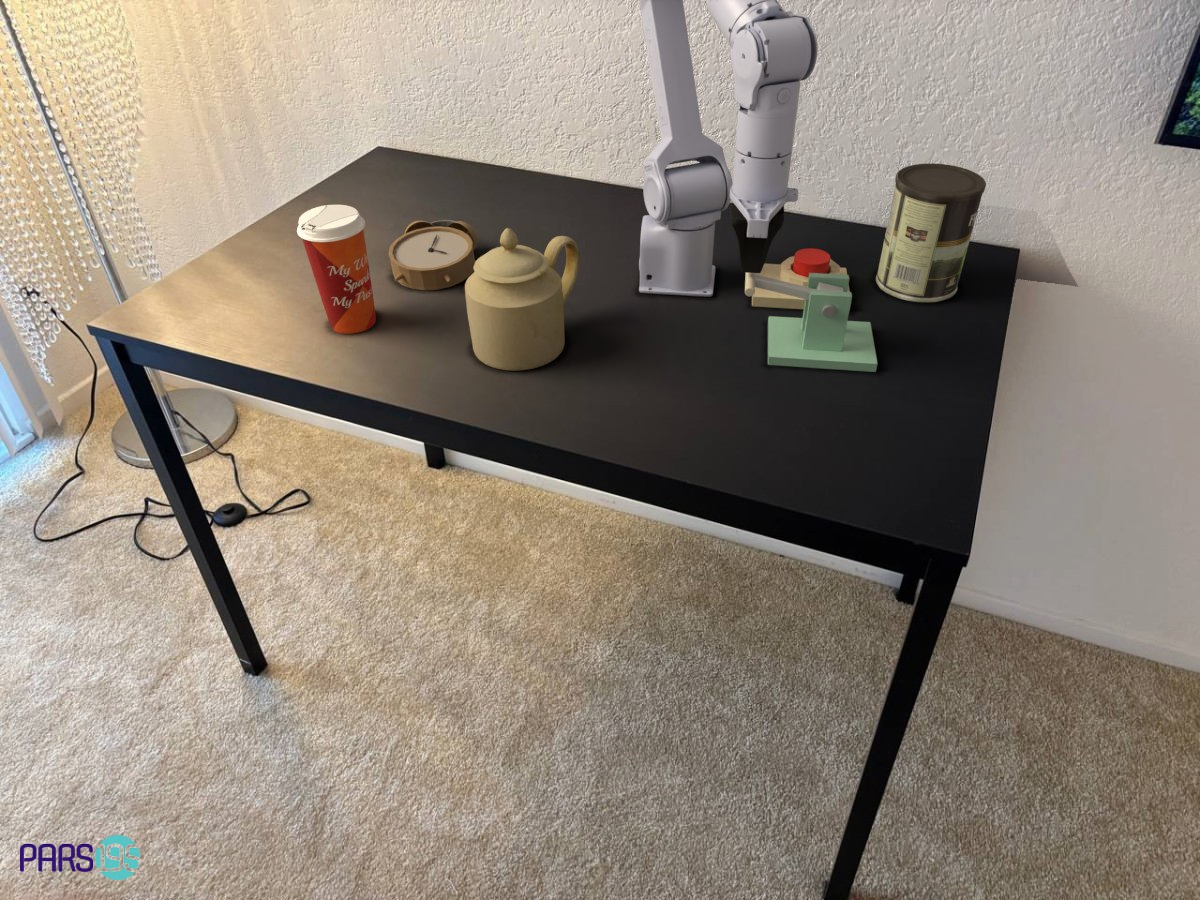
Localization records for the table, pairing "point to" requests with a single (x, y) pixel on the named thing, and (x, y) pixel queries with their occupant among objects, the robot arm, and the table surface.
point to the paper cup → (340, 265)
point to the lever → (782, 286)
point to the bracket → (823, 332)
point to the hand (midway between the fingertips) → (751, 269)
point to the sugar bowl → (520, 303)
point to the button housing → (787, 275)
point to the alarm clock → (433, 254)
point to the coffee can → (929, 231)
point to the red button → (811, 262)
